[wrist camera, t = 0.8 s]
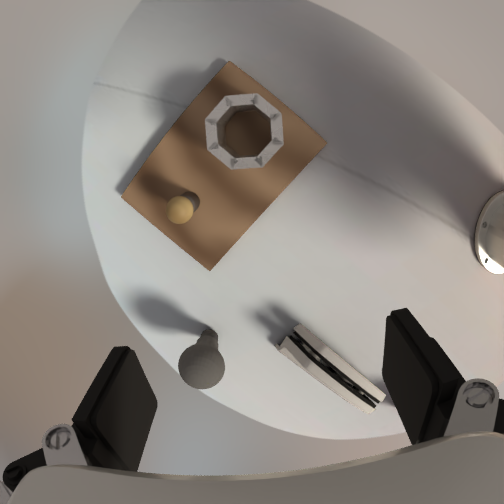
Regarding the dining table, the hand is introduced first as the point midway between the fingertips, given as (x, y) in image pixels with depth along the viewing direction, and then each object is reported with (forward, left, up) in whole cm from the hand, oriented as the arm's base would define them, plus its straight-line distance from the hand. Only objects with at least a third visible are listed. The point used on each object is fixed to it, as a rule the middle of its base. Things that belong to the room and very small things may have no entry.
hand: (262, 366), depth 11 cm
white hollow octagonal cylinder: (-5, -7, -26) cm, 27 cm away
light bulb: (+18, +6, -28) cm, 33 cm away
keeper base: (0, -7, -27) cm, 28 cm away
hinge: (+10, +22, -28) cm, 37 cm away
